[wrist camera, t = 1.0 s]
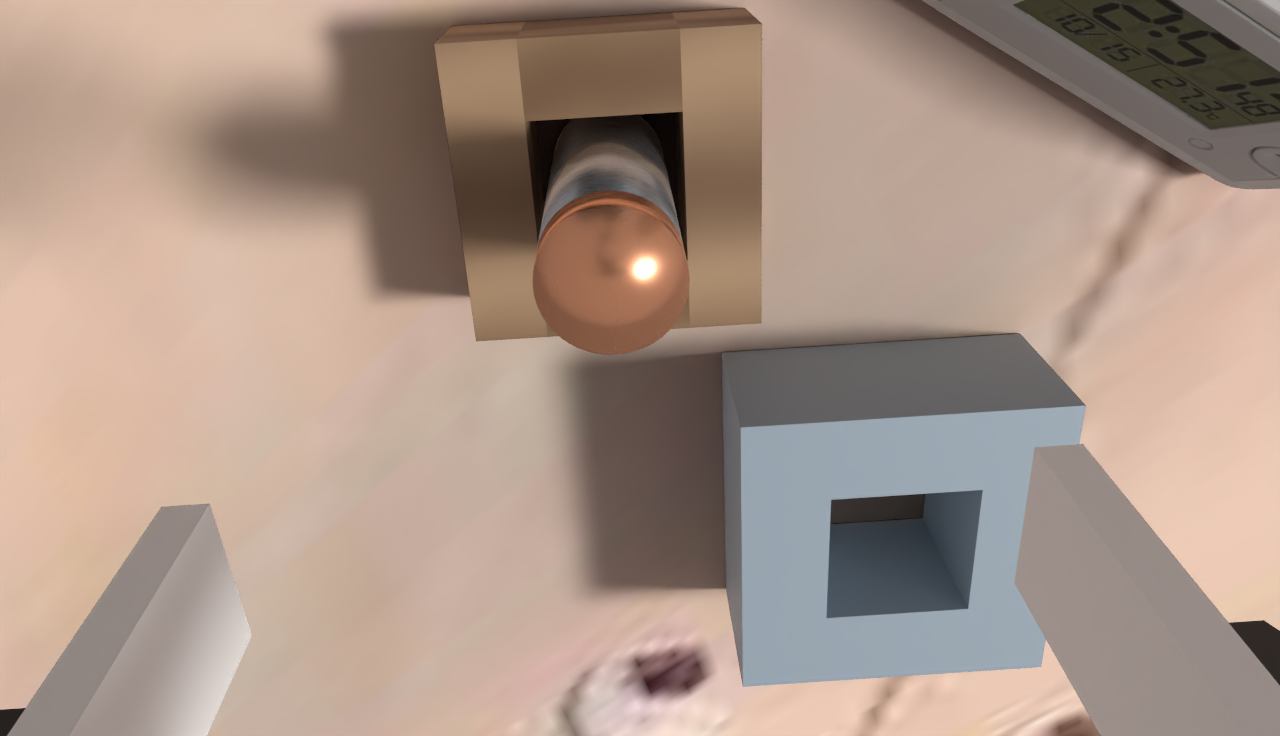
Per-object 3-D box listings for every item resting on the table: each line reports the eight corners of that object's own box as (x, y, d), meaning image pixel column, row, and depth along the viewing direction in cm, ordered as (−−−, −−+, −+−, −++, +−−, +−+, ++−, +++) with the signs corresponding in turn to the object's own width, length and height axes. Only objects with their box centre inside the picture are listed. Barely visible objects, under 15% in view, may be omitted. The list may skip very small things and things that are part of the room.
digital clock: (869, -45, 33) (977, -13, 23) (1079, -292, 30) (1300, -369, 21) (1161, 243, 38) (1348, 365, 29) (1366, 56, 35) (1650, 123, 26)
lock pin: (548, 109, 35) (524, 213, 24) (660, 102, 35) (687, 202, 24) (558, 217, 37) (540, 359, 26) (665, 211, 37) (692, 349, 26)
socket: (721, 352, 39) (740, 427, 34) (1020, 333, 39) (1085, 405, 34) (726, 589, 45) (743, 686, 39) (988, 572, 45) (1041, 667, 39)
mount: (452, 25, 33) (433, 43, 30) (744, 8, 34) (761, 23, 30) (488, 297, 38) (476, 341, 34) (746, 281, 38) (761, 323, 34)
